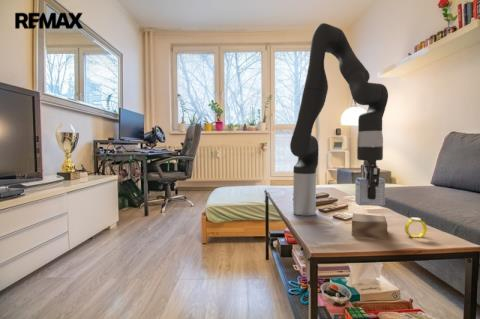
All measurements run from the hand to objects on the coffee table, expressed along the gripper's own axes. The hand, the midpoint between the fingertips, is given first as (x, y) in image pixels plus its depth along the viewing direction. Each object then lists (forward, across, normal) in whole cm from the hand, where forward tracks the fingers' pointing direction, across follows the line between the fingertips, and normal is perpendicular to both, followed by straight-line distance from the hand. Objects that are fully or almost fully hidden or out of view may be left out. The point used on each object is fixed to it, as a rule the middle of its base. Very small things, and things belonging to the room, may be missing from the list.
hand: (369, 197), depth 89 cm
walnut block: (+12, 0, 0) cm, 12 cm away
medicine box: (+3, 0, 0) cm, 3 cm away
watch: (+12, +2, +13) cm, 18 cm away
